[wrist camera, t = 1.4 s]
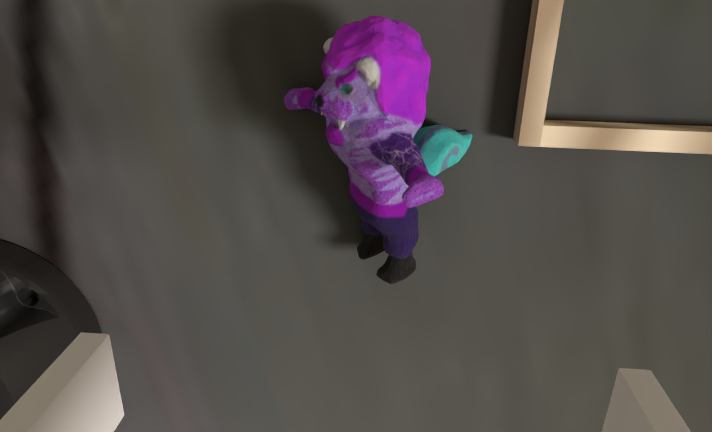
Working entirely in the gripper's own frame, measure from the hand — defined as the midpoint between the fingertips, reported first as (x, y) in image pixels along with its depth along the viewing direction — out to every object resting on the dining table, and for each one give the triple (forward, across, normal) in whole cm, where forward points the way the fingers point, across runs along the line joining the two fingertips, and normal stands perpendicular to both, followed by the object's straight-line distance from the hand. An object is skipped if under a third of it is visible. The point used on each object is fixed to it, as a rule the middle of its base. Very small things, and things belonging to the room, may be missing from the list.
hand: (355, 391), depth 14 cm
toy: (+20, 0, +1) cm, 21 cm away
